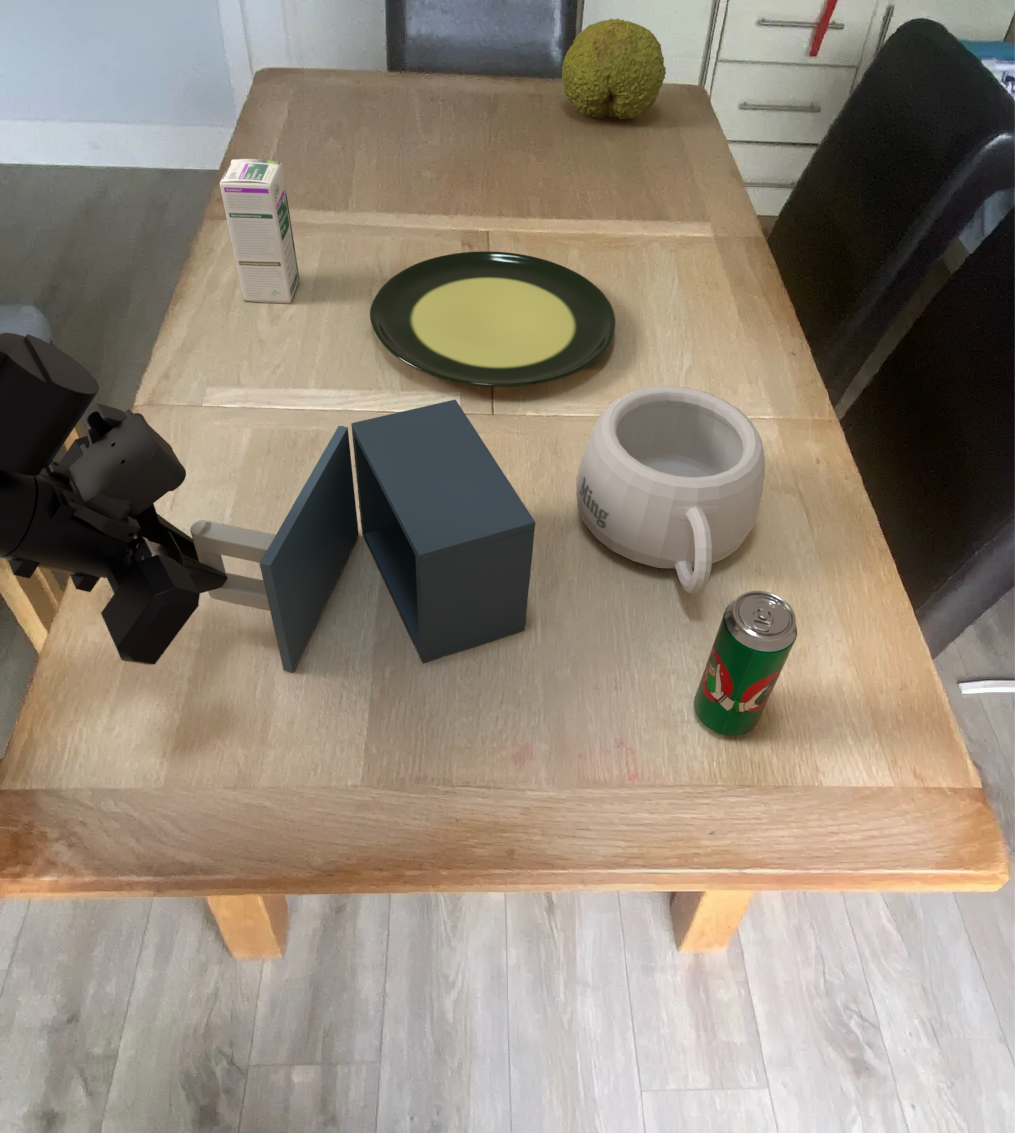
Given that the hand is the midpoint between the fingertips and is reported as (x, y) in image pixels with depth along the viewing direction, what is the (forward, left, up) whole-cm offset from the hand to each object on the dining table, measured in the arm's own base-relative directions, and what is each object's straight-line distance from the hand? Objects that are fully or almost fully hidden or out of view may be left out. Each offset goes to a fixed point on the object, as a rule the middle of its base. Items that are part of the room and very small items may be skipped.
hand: (217, 570), depth 68 cm
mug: (+29, +27, -7) cm, 40 cm away
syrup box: (-26, +45, -7) cm, 52 cm away
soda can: (+39, +10, -7) cm, 40 cm away
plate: (+1, +50, -7) cm, 50 cm away
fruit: (-9, +117, -7) cm, 117 cm away
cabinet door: (+2, +5, -7) cm, 9 cm away
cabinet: (+13, +12, -7) cm, 19 cm away
